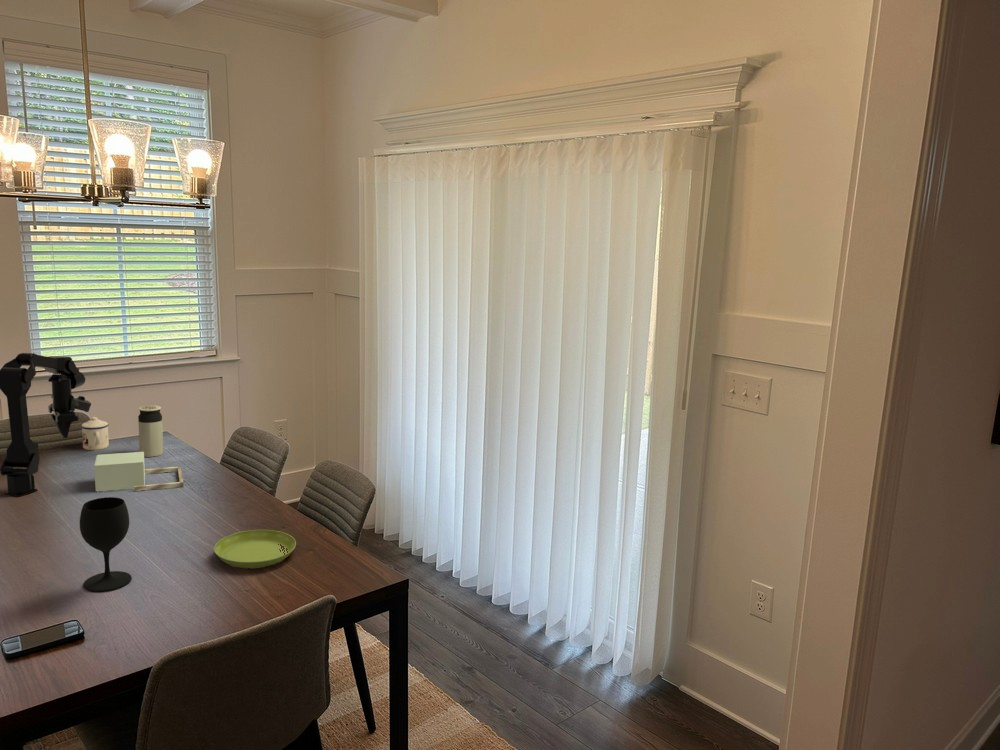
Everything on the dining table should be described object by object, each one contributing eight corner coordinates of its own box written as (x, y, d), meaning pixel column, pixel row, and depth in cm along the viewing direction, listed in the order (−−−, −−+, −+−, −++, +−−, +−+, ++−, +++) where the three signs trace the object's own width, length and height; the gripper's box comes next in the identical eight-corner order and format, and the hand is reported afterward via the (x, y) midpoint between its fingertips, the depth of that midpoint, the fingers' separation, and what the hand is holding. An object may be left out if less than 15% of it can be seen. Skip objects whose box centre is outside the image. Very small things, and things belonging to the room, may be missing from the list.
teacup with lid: (80, 445, 281) (79, 415, 279) (107, 442, 287) (106, 413, 284) (84, 453, 272) (83, 423, 270) (112, 450, 277) (110, 420, 275)
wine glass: (120, 568, 184) (116, 492, 181) (139, 582, 178) (136, 504, 174) (75, 582, 176) (71, 503, 173) (94, 596, 170) (89, 515, 166)
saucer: (210, 576, 183) (209, 564, 183) (218, 542, 203) (218, 531, 202) (296, 570, 189) (296, 558, 188) (296, 538, 208) (295, 527, 208)
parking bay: (134, 491, 237) (134, 487, 236) (135, 474, 253) (135, 470, 252) (183, 487, 243) (183, 482, 243) (181, 470, 259) (180, 466, 259)
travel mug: (148, 458, 270) (146, 411, 266) (135, 454, 274) (133, 407, 270) (167, 453, 276) (166, 407, 273) (154, 449, 281) (153, 404, 277)
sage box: (95, 492, 235) (94, 465, 233) (98, 480, 245) (97, 454, 244) (144, 488, 241) (143, 462, 239) (145, 476, 251) (144, 451, 250)
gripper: (94, 395, 250) (96, 439, 252) (82, 385, 264) (85, 427, 267) (56, 398, 243) (59, 444, 245) (46, 388, 257) (49, 431, 260)
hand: (64, 436), depth 254 cm, fingers open, 4 cm apart
